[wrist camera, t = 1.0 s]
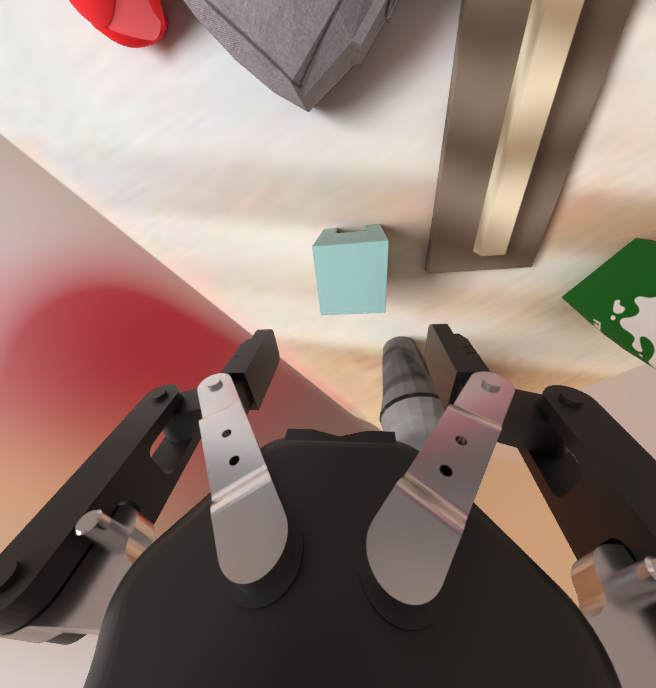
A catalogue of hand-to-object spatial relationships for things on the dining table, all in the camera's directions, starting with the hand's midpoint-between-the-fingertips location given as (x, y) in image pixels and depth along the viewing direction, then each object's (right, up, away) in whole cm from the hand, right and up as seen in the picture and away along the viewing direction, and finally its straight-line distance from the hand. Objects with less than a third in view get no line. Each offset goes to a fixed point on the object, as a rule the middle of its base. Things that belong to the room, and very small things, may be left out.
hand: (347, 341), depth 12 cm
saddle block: (+2, +10, +14) cm, 17 cm away
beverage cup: (+9, -1, +20) cm, 22 cm away
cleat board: (+14, +16, +8) cm, 23 cm away
